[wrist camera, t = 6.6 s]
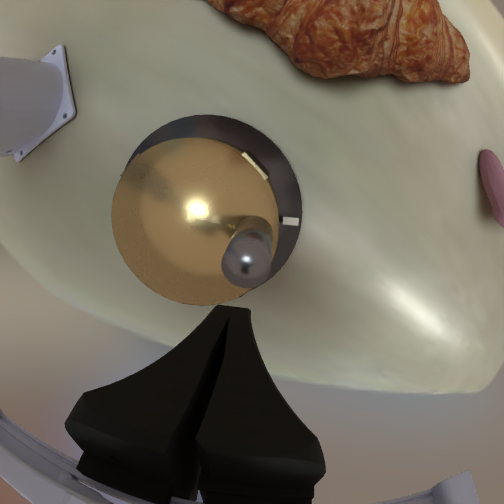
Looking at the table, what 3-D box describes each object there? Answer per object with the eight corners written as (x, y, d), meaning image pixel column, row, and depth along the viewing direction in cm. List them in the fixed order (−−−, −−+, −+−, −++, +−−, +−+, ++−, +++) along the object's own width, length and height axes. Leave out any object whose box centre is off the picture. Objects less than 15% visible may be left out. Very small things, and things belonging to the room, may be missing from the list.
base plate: (163, 301, 23) (158, 310, 21) (105, 156, 18) (95, 158, 17) (317, 269, 20) (320, 278, 19) (270, 91, 16) (269, 87, 14)
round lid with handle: (141, 275, 20) (94, 329, 14) (131, 141, 16) (62, 150, 10) (272, 288, 19) (268, 358, 13) (283, 140, 16) (288, 140, 9)
